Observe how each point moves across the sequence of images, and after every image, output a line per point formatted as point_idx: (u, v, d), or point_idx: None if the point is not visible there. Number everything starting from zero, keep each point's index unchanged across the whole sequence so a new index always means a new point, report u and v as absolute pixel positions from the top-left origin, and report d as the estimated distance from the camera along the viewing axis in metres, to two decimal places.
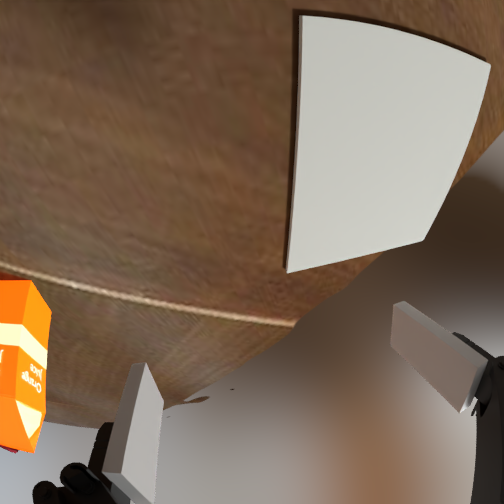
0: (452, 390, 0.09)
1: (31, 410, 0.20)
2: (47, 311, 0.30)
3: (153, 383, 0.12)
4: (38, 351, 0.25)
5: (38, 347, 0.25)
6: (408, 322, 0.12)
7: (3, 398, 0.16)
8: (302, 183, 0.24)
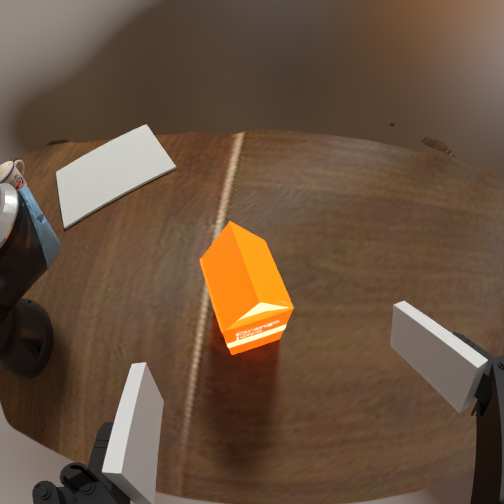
0: (452, 390, 0.09)
1: None
2: None
3: (153, 383, 0.12)
4: None
5: None
6: (408, 322, 0.12)
7: (205, 272, 0.30)
8: (119, 192, 0.55)
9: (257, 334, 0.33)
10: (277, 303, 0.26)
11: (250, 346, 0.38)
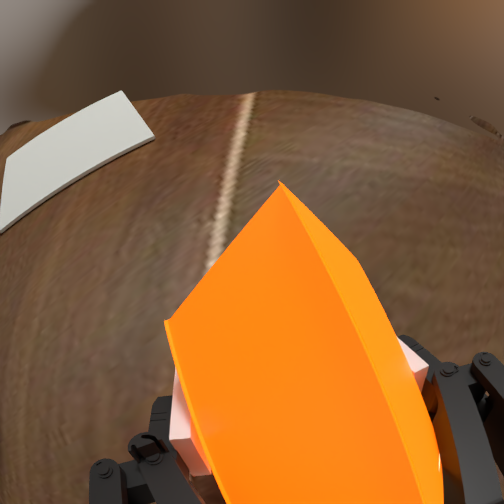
0: None
1: None
2: None
3: None
4: None
5: None
6: None
7: (182, 369, 0.08)
8: (71, 177, 0.33)
9: None
10: (442, 487, 0.04)
11: None
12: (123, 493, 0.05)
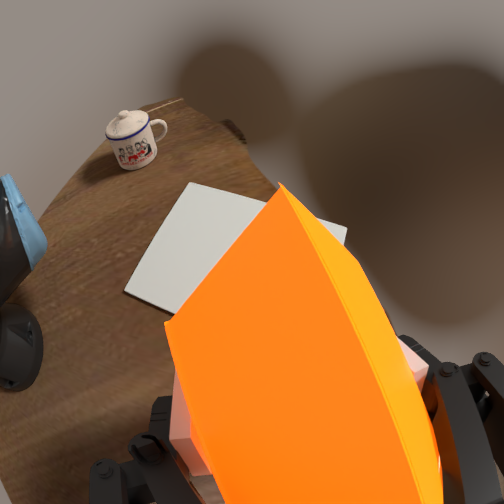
0: None
1: None
2: None
3: None
4: None
5: None
6: None
7: (182, 371, 0.08)
8: None
9: None
10: (441, 488, 0.04)
11: None
12: (123, 493, 0.05)
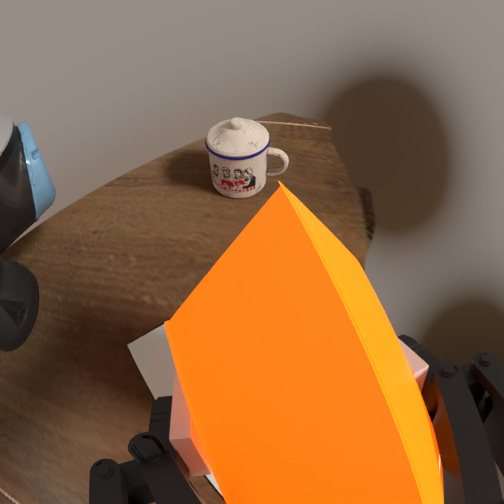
0: None
1: None
2: None
3: None
4: None
5: None
6: None
7: (182, 370, 0.08)
8: None
9: None
10: (442, 488, 0.04)
11: None
12: (123, 493, 0.05)
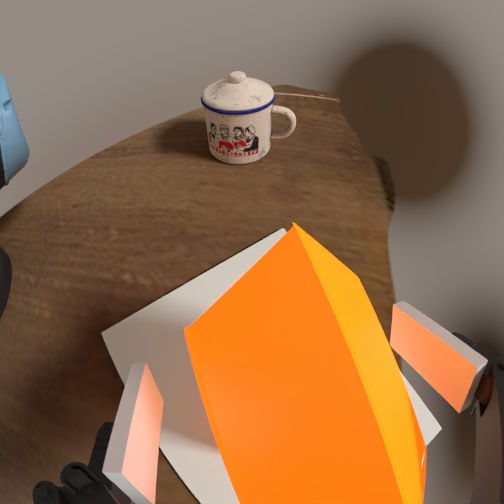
0: (452, 390, 0.09)
1: None
2: None
3: (153, 383, 0.12)
4: None
5: None
6: (408, 322, 0.12)
7: (200, 372, 0.10)
8: (178, 463, 0.19)
9: None
10: (423, 481, 0.05)
11: None
12: None
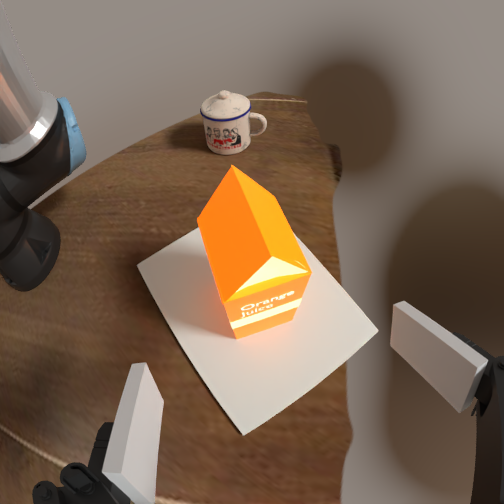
0: (452, 390, 0.09)
1: None
2: None
3: (153, 383, 0.12)
4: None
5: None
6: (408, 322, 0.12)
7: (203, 231, 0.25)
8: (187, 345, 0.34)
9: (267, 310, 0.28)
10: (293, 263, 0.20)
11: (258, 328, 0.33)
12: None
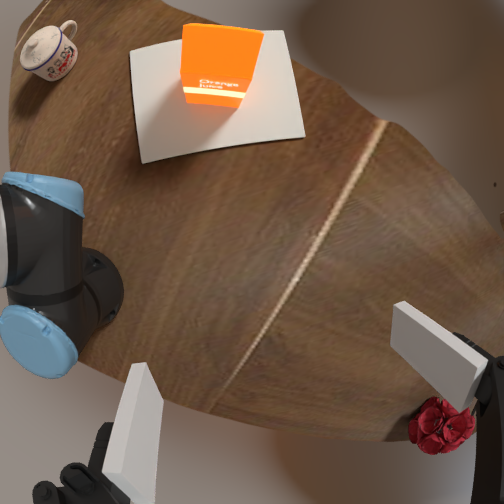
0: (452, 390, 0.09)
1: None
2: None
3: (153, 383, 0.12)
4: None
5: None
6: (408, 322, 0.12)
7: (195, 70, 0.28)
8: (227, 142, 0.44)
9: None
10: None
11: None
12: None
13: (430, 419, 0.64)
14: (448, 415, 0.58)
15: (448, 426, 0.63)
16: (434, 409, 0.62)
